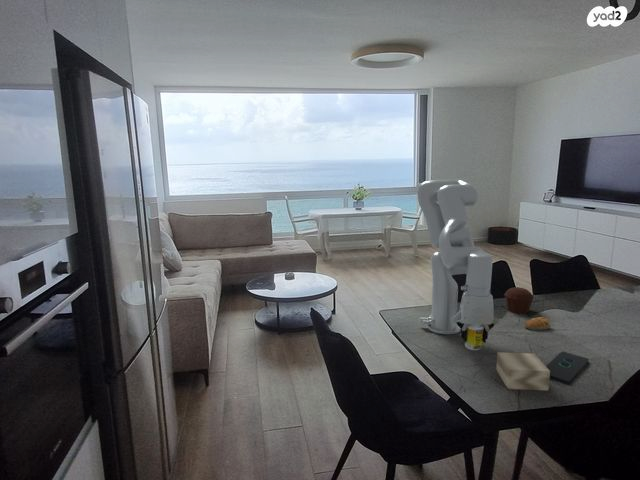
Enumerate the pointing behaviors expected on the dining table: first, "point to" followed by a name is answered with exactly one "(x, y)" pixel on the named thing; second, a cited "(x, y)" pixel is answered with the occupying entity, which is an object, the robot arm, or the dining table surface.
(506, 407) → the dining table surface
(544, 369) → the oak block
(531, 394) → the dining table surface
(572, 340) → the dining table surface
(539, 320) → the pastry
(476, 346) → the supplement bottle
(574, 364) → the smart home device
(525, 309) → the muffin
